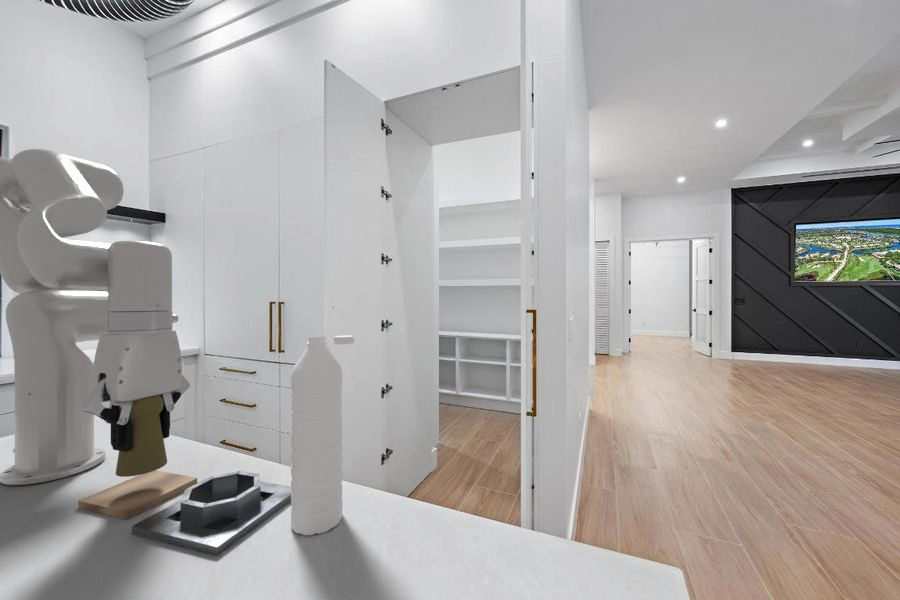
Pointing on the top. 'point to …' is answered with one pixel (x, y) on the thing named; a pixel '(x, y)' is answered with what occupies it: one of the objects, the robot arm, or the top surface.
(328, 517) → the water bottle
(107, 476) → the top surface
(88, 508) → the coaster board
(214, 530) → the grey octagonal holder
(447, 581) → the top surface
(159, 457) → the cork
